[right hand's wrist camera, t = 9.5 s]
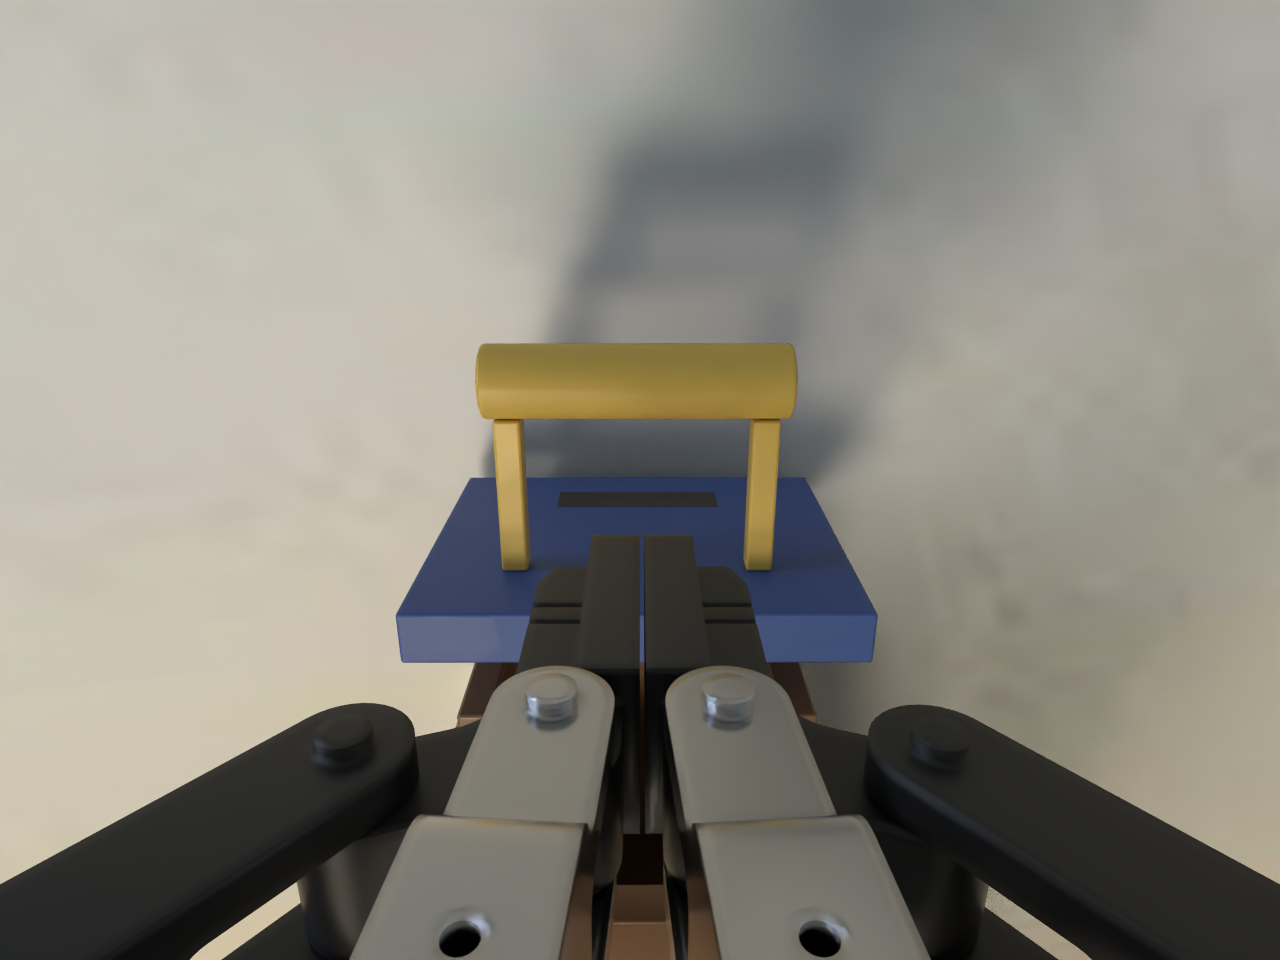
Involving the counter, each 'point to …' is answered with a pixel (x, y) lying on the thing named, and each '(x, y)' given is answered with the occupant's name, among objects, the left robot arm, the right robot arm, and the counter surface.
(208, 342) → the counter surface
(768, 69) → the counter surface
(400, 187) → the counter surface
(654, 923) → the cabinet
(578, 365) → the drawer
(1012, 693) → the counter surface
